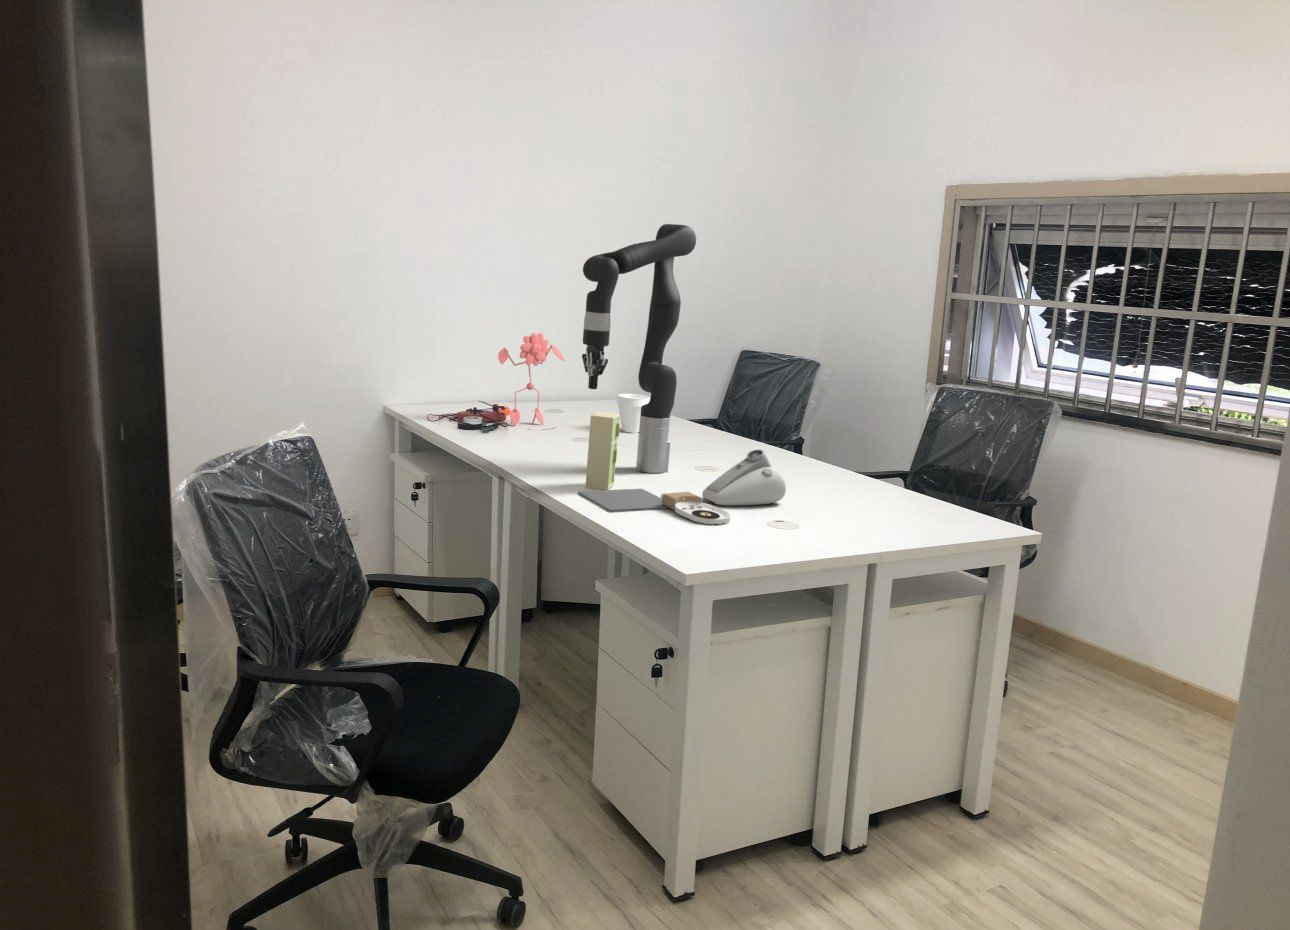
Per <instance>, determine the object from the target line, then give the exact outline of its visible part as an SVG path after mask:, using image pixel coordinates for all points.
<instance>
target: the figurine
mask: <svg viewBox="0 0 1290 930" xmlns="http://www.w3.org/2000/svg"><path fill="white" fill-rule="evenodd" d="M522 338H523V342H524V343H523V344H521V345H520V347H519V349H520V350H521V351H520V353H519V358H520V359H525V361H522V362H519V363H515V362H514V360H513V359H512V358H511V356H510V354H509V350H508V349H507V348H506V347H503V348H502V349H500V350H499V352H498V353H497V354H498V355H497V359H498V361H499V363H500V364H501V365H503V364H505V363H506V362H507V361H508V359H509V360H510V362H511V363H512V364H513V365H514V367H516V366H519V365H523V364H525V365H527V366H528V374H529V375H528V376H529V382H528V383H527V384H526V387H525V388H522V389H520V390H517V391H515V392H514V408H513V409H512V410H511V412H510V416H509V418H510V424H511V425H513V426H514V427H515V426H516V425H517V424H519V422H520V420H521V413H520V411H519V409H518V408H517V398H516V396H517V395H516V394H517V393H519V392H521V391H524V390H529V391H532V390H533V389H534V391H536V392H537V393H538V395H537V408H535V409H534V416H533V419H532V422H531V423H532V424H534V423H535V420H536V419H537V420H538V421H539V423H541V424H542V425H544V424H545V423H544V417H543V414H542V412H541V411H540V410H539V403H540V392H539V391H538V390H537V388H536V387H535V385H534V384H533V382H532V375H531V365H533V366H535V367H537V366H538V365H543V363H544V362H545V361H547V356H548V354H549V352H550V351H551V350H552V352H553V354H555V356H556V357H558V359H561V360H562V361H565V357H564V354H563V353H562V351H560V349H558V347H556V346H555V345H553V344H550V346H549V347H548V345H549V339H544V334H543V332H540V333H538V334H536V333H535V332H532V333H531V336H530V335H525V336H523V337H522ZM553 428H554V427H553ZM553 428H551V430H554V429H553ZM556 428H557V426H556ZM548 429H549V428H545V429H544V431H547V430H548ZM527 431H530V429H527ZM548 431H549V430H548Z"/></svg>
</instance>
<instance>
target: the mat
mask: <svg viewBox="0 0 1290 930" xmlns="http://www.w3.org/2000/svg"><path fill="white" fill-rule="evenodd" d="M577 494H578V495H579V496H581V497H583V498H585V499H586V500H588V501H590V502H592V503H593V504H595V505H596V506H598V507H600V508H602V509H604V510H605V509H606V511H607V512H609V513H619V512H637V511H653V510H654V511H655V510H656V511H657V510H670V509H671V508H669V507H667V506H665V505H663V504H661V503H660V498H661V496H658V495H655V494H653V493H651V492H650V491H648V490H646V489H644V488H627V489H609V490H579V491H577ZM671 510H672V509H671Z"/></svg>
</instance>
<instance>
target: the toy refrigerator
mask: <svg viewBox="0 0 1290 930" xmlns="http://www.w3.org/2000/svg"><path fill="white" fill-rule="evenodd" d="M589 423H590V424H589V433H588V435H589V436H588V437H589V439H588V450H587V458H586V459H587V461H586V473H585V474H586V475H585V489H588V490H589V489H591V490H595V491H598V490H611V488H612V487H613V486H614V485H615V473H616V463H617V458H618V457H617V455H618V439H619V438H618V437H619V436H620V430H621V429H620V428H621V422H620V413H614V412H606V411H596V412H594V413H593V414H591V416H590V421H589Z"/></svg>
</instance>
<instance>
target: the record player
mask: <svg viewBox="0 0 1290 930" xmlns="http://www.w3.org/2000/svg"><path fill="white" fill-rule="evenodd" d="M702 498H703V497H702V496H699V495H697V494H694V493H691V492H689V491H687V490H683V491H680V490H679V491H668V492H662V493H661V495H660V503H661V504H663V505H665V506H667V507H669V508H671V510H673V511H674V512H675V513H676V514H678V515H679V516H682V517H684V518H687V519H689V520H691V521H694V522H696V523H699V524H700V523H701V524H706V525H715V524H718V525H724V524H723V523H726V524H728V523H730V520H731V514H730V512H728V511H726V510H724V509H721V508H720V507H717V506H715V505H713V504H709V503H704V502H703V499H702ZM727 522H728V523H727Z"/></svg>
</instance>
